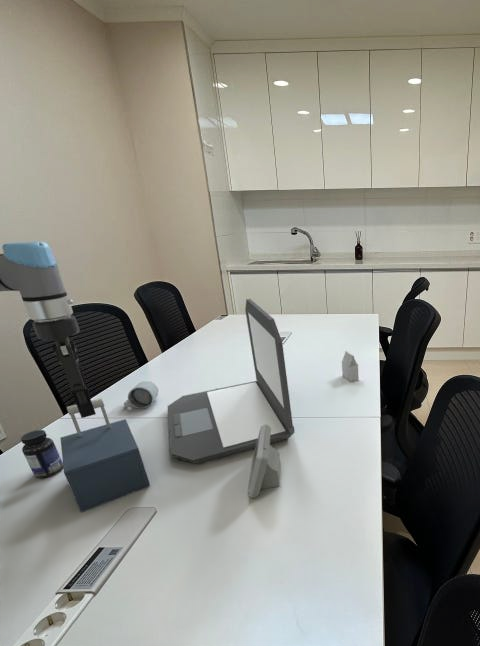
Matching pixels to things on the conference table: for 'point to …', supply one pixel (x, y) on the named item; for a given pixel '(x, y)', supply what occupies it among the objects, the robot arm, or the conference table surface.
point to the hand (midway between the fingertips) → (86, 405)
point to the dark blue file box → (108, 481)
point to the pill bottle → (41, 454)
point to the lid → (96, 442)
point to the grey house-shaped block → (349, 367)
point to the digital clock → (264, 464)
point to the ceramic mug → (142, 395)
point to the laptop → (236, 403)
